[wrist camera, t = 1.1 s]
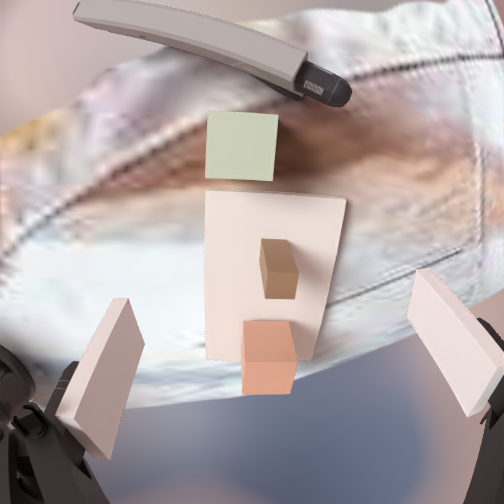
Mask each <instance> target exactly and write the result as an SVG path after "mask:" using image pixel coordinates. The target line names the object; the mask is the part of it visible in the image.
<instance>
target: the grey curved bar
mask: <svg viewBox="0 0 504 504" xmlns="http://www.w3.org/2000/svg"><path fill="white" fill-rule="evenodd" d="M73 17H74V20H75V21H78V22H80V23H83V24H85V25H88V26H91V27H93V28H95V29H100V30H106V31H108V32H111V33H116V34H122V35H126V36H131V37H135V38H140V39H144V40H148V41H152V42H156V43H159V44H163V45H167V46H170V47H174V48H177V49H181V50H184V51H187V52H191V53H194V54H197V55H200V56H203V57H206V58H209V59H212V60H215V61H218V62H220V63H223V64H226V65H229V66H231V67H234V68H237V69H239V70H242V71H244V72H247V73H249V74H250V75H252V76H253V77H255V78H257V79H258V80H260V81H261V82H263V83H265V84H266V85H268V86H269V87H271V88H272V89H274V90H275V91H277V92H279V93H281V94H283V95H286V96H288V97H290V98H292V99H294V100H296V101H299V100H302V99H303V97H304V95H305V94H306V95H308V96H310V97H312V98H314V99H316V100H318V101H320V102H322V103H324V104H326V105H328V106H332V107H342V106H344V105H345V104H346V103H347V102H348V101H349V100H350V97H351V94H352V89H351V87H350V85H349V84H348V83H347V82H346V81H345V80H344V79H343V78H341V77H340V76H338V75H336V74H334V73H332V72H330V71H328V70H326V69H324V68H322V67H319V66H317V65H315V64H313V63H311V62H309V61H307V57H308V51H306V50H303V49H301V48H299V47H296V46H294V45H292V44H289V43H287V42H284V41H282V40H279V39H277V38H274V37H272V36H269V35H266V34H264V33H261V32H258V31H255V30H252V29H249V28H246V27H243V26H240V25H237V24H234V23H231V22H228V21H224V20H221V19H217V18H213V17H210V16H206V15H203V14H198V13H195V12H190V11H186V10H182V9H177V8H172V7H167V6H162V5H157V4H151V3H145V2H138V1H131V0H81V1H80V2H78V4H77V6H76V8H75V10H74V12H73Z"/></svg>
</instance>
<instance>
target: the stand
mask: <svg viewBox="0 0 504 504" xmlns="http://www.w3.org/2000/svg"><path fill="white" fill-rule="evenodd" d="M345 206H346V199H345V198H344V197H341V196H331V195H320V194H308V193H296V192H282V191H267V190H250V189H230V188H206V193H205V341H206V360H222V361H241V371H242V394H290V392H291V387H292V384H293V380H294V376H295V372H296V367H297V363H298V361H312V357H313V353H314V350H315V346H316V342H317V338H318V334H319V330H320V326H321V322H322V318H323V314H324V310H325V305H326V301H327V297H328V292H329V288H330V283H331V279H332V274H333V269H334V265H335V260H336V255H337V250H338V245H339V239H340V234H341V229H342V223H343V217H344V212H345Z"/></svg>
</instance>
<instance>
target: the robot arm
mask: <svg viewBox="0 0 504 504" xmlns="http://www.w3.org/2000/svg"><path fill="white" fill-rule="evenodd" d="M407 319H408V320H409V322H410V323H411V325H412V326H413V328H414V329H415V331H416V332H417V334H418V335H419V337H420V338H421V340H422V341H423V343H424V345H425V346H426V348H427V349H428V351H429V352H430V354H431V356H432V357H433V359H434V360H435V362H436V364H437V365H438V367H439V369H440V370H441V372H442V374H443V375H444V377H445V379H446V380H447V382H448V384H449V386H450V387H451V389H452V391H453V393H454V394H455V396H456V398H457V400H458V401H459V403H460V405H461V407H462V408H463V410H464V412H465V414H466V416H467V417H469V416H471V415H473V414H476V413H478V412H480V411H481V410H482V409H483V408H484V406H485V405H486V403H487V402H489V404H490V405H491V407H490V408H489V410H488V411H487V413H486V414H485V416H484V417H483V418H482V420H481V422H480V424H483V422H484V420H486V418H487V420H486V424H485V429H484V434H483V439H482V443H481V447H480V451H479V455H478V459H477V462H476V466H475V469H474V473H473V476H472V480H471V482H470V486H469V489H468V491H467V494H466V497H465V500H464V503H463V504H504V341H503V340H501V337H500V336H499V335H498V333H496V331H495V330H494V329H493V328H492V326H491V325H490V324H489V323H487V322H486V321H484V320H483V319H481V318H475V317H474V316H473V315H472V313H471V312H470V311H469V310H468V309H467V308H466V306H465V305H464V304H463V303H462V302H461V301H460V300H459V299H458V298H457V296H456V295H455V294H454V293H453V292H452V291H451V290H450V289H449V288H448V287H447V286H446V285H445V284H444V283H443V281H442V280H441V279H440V278H439V277H438V276H437V275H436V274H435V273H434V272H433V271H432V270H431V269H430V268H425V269H418V270H416V274H415V279H414V284H413V289H412V294H411V299H410V304H409V308H408V313H407ZM144 345H145V343H144V341H143V338H142V335H141V333H140V330H139V327H138V325H137V322H136V319H135V316H134V313H133V310H132V308H131V305H130V302H129V299H128V298H117V299H113V300H112V302H111V304H110V306H109V307H108V309H107V311H106V313H105V315H104V316H103V318H102V320H101V322H100V324H99V326H98V327H97V329H96V331H95V333H94V335H93V337H92V339H91V341H90V343H89V345H88V346H87V348H86V350H85V352H84V354H83V356H82V358H81V360H80V362H77V361H73V362H72V363H71V364H70V365H69V366H68V367H67V368H66V369H65V370H64V372H63V374H62V376H61V378H60V381H59V382H58V384H57V386H56V389H55V390H54V392H53V394H52V396H51V398H50V401H49V403H48V405H47V407H46V409H45V411H44V413H43V411H42V410H41V409H40V408H39V406H38V405H37V404H35V403H33V402H29V401H30V399H31V398H32V396H33V394H34V392H35V385H34V382H33V380H32V378H31V376H30V374H29V373H28V371H27V370H26V369H25V367H24V366H23V365H22V364H21V363H20V362H19V361H18V360H17V359H16V358H15V357H14V356H13V355H12V354H11V353H10V352H8V351H7V350H6V349H5V348H3V347H2V346H0V504H110V503H109V501H108V499H107V498H106V496H105V495H104V493H103V491H102V489H101V487H100V486H99V484H98V482H97V480H96V478H95V476H94V475H93V473H92V471H91V469H90V467H89V465H88V463H87V461H86V460H85V458H84V457H83V456H84V453H85V450H86V451H87V452H88V453H89V454H90V455H91V456H92V457H94V458H99V459H104V460H110V459H111V455H112V451H113V447H114V443H115V440H116V436H117V432H118V429H119V425H120V421H121V418H122V415H123V411H124V408H125V405H126V401H127V398H128V395H129V391H130V388H131V385H132V382H133V378H134V375H135V372H136V369H137V366H138V363H139V360H140V357H141V354H142V351H143V348H144ZM10 420H11V424H12V425H13V426H14V427H15V428H16V429H12V430H11V429H10V428H9V427H8V424H9V421H10Z"/></svg>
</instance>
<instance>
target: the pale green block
mask: <svg viewBox="0 0 504 504" xmlns="http://www.w3.org/2000/svg"><path fill="white" fill-rule="evenodd" d="M277 126H278V115H272V114H260V113H245V112H225V111H208V123H207V144H206V169H205V178H223V179H244V180H261V181H273V172H274V161H275V149H276V138H277Z"/></svg>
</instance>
